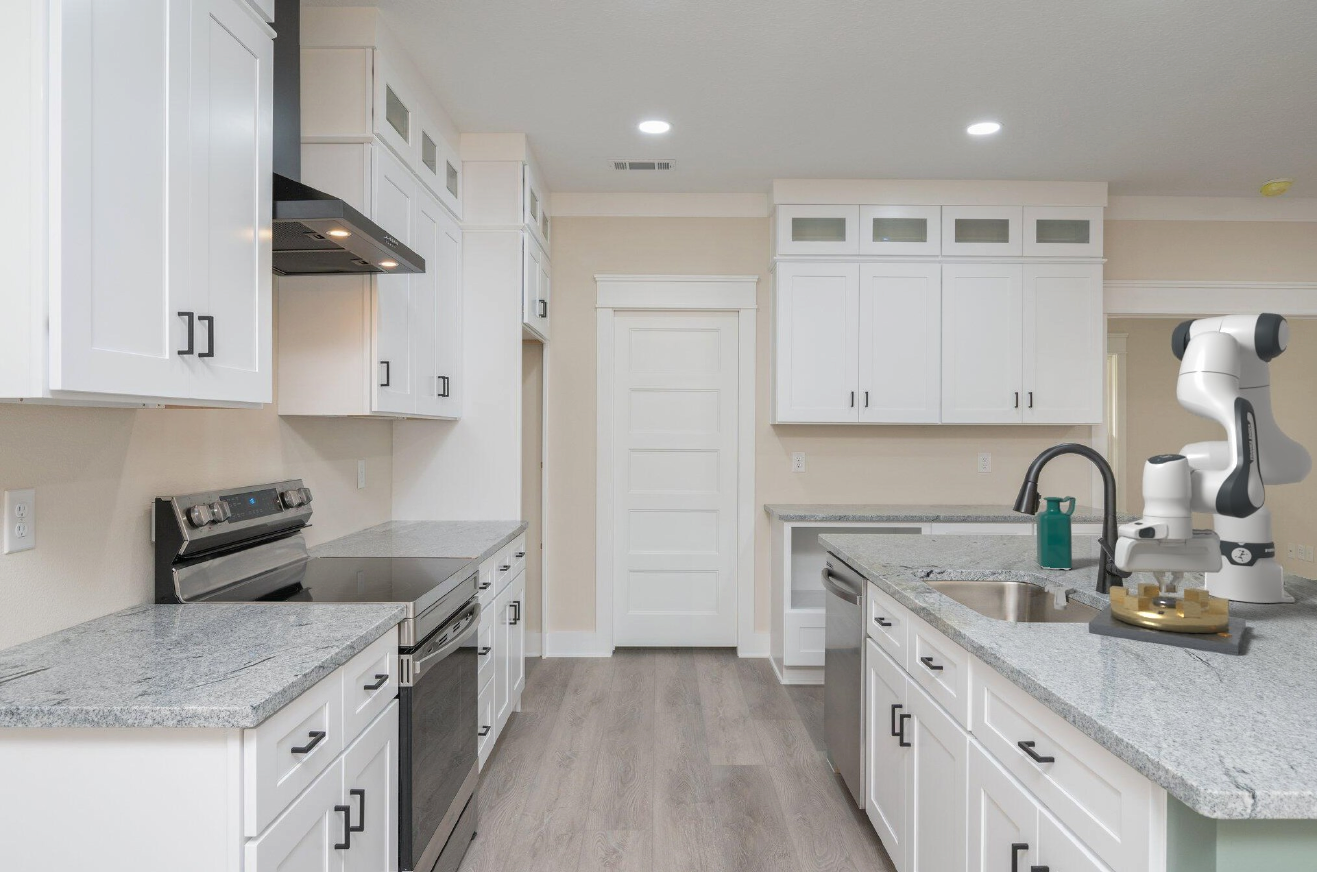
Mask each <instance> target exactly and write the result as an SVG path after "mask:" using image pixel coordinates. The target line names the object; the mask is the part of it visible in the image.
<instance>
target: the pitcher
mask: <svg viewBox="0 0 1317 872" xmlns="http://www.w3.org/2000/svg"><path fill="white" fill-rule="evenodd" d="M1042 499H1043V500H1044V501H1046V509H1045V510H1044V511H1040V512H1037V514H1036V561H1037V562H1036V563H1038V564H1039V565H1040V566H1043V567H1050V568H1072V569H1073V548H1072V546H1073V544H1072V543H1073V541H1072V518H1071V517H1072V515H1073V514H1074V512H1075V508H1076V500H1077V499H1076V498H1075V497H1074V496H1071V495H1070V496H1069V495H1067V496H1065V497H1064V498H1063V497H1059V496H1047V497H1046V496H1045V497H1043V498H1042ZM1068 501H1069V502H1068ZM1067 502H1068V509H1067V511H1066V512H1064V511H1062V510H1061V509H1062V508H1061V503H1067ZM1040 566H1039V567H1040Z"/></svg>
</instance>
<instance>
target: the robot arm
mask: <svg viewBox="0 0 1317 872" xmlns="http://www.w3.org/2000/svg"><path fill="white" fill-rule="evenodd" d="M1290 339H1291V329H1290V327H1289V324H1288V321H1287V320H1286V318H1285V317H1284V316H1283V315H1281V314H1279V313H1272V312H1261V313H1260V314H1259V313H1257V314H1256V313H1238V314H1236V313H1235V314H1233V313H1232V314H1227V315H1220V316H1212V317H1208V318H1207V317H1206V318H1201V319H1197V318H1193V319H1188V320H1185V321H1182V322H1180V323H1179V324H1177V326H1175V328H1174V329H1173V331H1172V335H1171V340H1170V344H1171V345H1170V346H1171V351H1172V355H1173V356H1174V357H1175V358H1176V359H1178V360H1179V361H1181V363H1180V368H1179V371H1178V372H1179V373H1178V377H1177V383H1176V398H1177V401H1178V403H1179V405H1180V406H1181V407H1182V408H1183V409H1184V410H1186V411H1187V412H1188V413H1190V414H1192V415H1194V416H1196V417H1199V418H1202V419H1205V420H1208V421H1211V422H1215V423H1217V424H1220V425H1221V426H1222V427H1223V428H1224V429H1225V432H1226V433H1227V434H1226V435H1227V440H1207V441H1198V442H1193V443H1188V444H1185V445H1184V446H1183V447H1182V448H1181V449H1180V450H1179V453H1178V454H1174V453H1173V454H1172V453H1169V454H1168V453H1167V454H1166V453H1165V454H1159V455H1153V456H1151V457H1149V458H1148V459H1146V461H1145V463H1144V466H1143V472H1142V480H1141V482H1142V485H1141V486H1142V487H1141V489H1142V492H1141V493H1142V494H1141V495H1142V499H1143V500H1144V507H1143V511H1142V518H1141V519H1138V520H1136V521H1132V522H1129V523H1125V524H1122V525H1120V526H1119V527H1118V528H1117V530H1118V534H1119V535H1120V537H1119V538H1118V539H1117V541H1116V544H1115V551H1114V565H1115V566H1116V567H1117V569H1118V570H1120V571H1122V572H1124V573H1125V572H1128V573H1132V572H1133V573H1134V572H1135V573H1152V576H1153V578H1154V579H1155V580H1156V582H1157V583H1158V586H1159V593H1163V594H1165V593H1168V594H1169V593H1171V594H1175V593H1176V594H1177V593H1178V592H1179V585H1180V584H1181V582H1182V580H1183V579H1184V578H1185V576H1184V573H1204V584H1203V585H1200V586H1197V587H1196V588H1197V589H1202V590H1207V591H1209V596H1210V597H1218V598H1227V599H1229V601H1230V600H1232V601H1238V602H1246V603H1257V604H1258V603H1260V604H1265V603H1266V604H1268V603H1269V604H1274V603H1296V600H1295V599H1296V598H1295V597H1294V596H1293V595H1291V594H1290V593H1289V592H1287V591H1286V590H1284V587H1285V585H1286V583H1285V581H1284V569H1283V566H1281V564H1280V563H1278V562H1277V561H1276V560H1275V558H1274V557H1275V556H1276V552H1275V551H1276V546H1275V542H1274V541H1273V532H1272V531H1273V528H1272V527H1273V526H1272V525H1273V523H1272V522H1273V519H1272V513H1271V511H1270V509H1269V508H1268V507H1267V506H1266V505H1265V504H1264V503H1265V501H1266V492H1265V491H1266V490H1265V486H1279V485H1280V486H1281V485H1288V484H1289V485H1290V484H1296V483H1301V482H1302V481H1303V480H1305V479H1306V478H1307V477H1308V476H1309V474H1310V472H1311V470H1312V467H1313V459H1312V456H1311V453H1310V452H1309V451H1308V449H1307V448H1306V447H1305V446H1303V445H1302V444H1300V443H1299V442H1297V441H1295V440H1294V439H1292V438H1290V437H1289V435H1287V434H1285V433H1284V432H1283V431H1282V429H1281V428H1280V427H1279V425H1278V424H1277V422H1276V421H1275V418H1274V415H1273V411H1272V410H1273V408H1272V400H1271V398H1272V397H1271V376H1270V375H1271V373H1270V367H1269V362H1271V361H1272V359H1275V358H1277V357H1279V356H1281V354H1283V353H1284V352H1285V351H1286V350H1287V347H1288V344H1289V342H1290ZM1193 513H1197V514H1198V513H1199V514H1210V515H1212V518H1213V529H1209V528H1203V529H1202V528H1201V529H1200V528H1193V526H1194V525H1193ZM1166 573H1170V575H1171V576H1172V578H1171V580H1170V582H1169V583H1167V582H1166V581H1165V580H1164V578H1165V577H1166Z"/></svg>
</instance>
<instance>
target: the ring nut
mask: <svg viewBox="0 0 1317 872" xmlns="http://www.w3.org/2000/svg"><path fill="white" fill-rule="evenodd" d="M1129 590H1130V589H1129V587H1126V586H1117V585H1112V586H1110V587H1109V600H1110V603H1111V615H1112V616H1113V617H1114V618H1116V619H1118V620H1120V621H1123V622H1126V623H1130V624H1133V625H1138V626H1142V627H1147V628H1153V629H1159V630H1167V631H1176V632H1191V633H1211V632H1220V631H1224V630H1227V629H1228V628H1229V617H1230V614H1229V613H1230V600H1229V599H1227V598H1219V597H1215V596H1210V595H1209V591H1207V590H1202V589H1197V587H1193V588H1192V587H1190V588H1184V589H1183V593H1184V594H1183V596H1184V597H1180V596H1179V597H1178V596H1170V595H1162V594H1161V595H1160V591H1159V585H1157V584H1155V583H1145V582H1144V583H1143V582H1142V583H1141V582H1137V594H1130V593H1129Z"/></svg>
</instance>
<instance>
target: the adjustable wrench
mask: <svg viewBox="0 0 1317 872" xmlns="http://www.w3.org/2000/svg"><path fill="white" fill-rule="evenodd" d="M1044 592H1046V593H1049V594H1052V595H1054V599H1053V600H1054V601H1053V602H1054V603H1053V608H1054V609H1055V610H1060V611H1066V610H1068V607H1067V606H1068V605H1067V599H1066V596H1067V595H1069V594H1074V592H1075V587H1074V586H1073V585H1069V584H1062V586H1055V585H1054V584H1051V583H1050V584H1046V586H1045V587H1044Z"/></svg>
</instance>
